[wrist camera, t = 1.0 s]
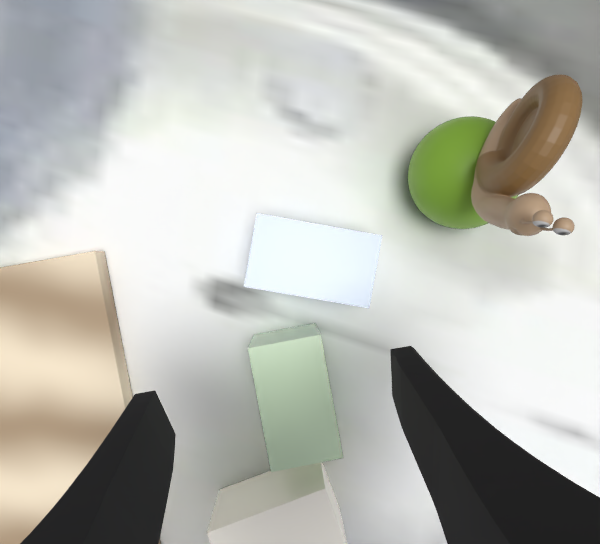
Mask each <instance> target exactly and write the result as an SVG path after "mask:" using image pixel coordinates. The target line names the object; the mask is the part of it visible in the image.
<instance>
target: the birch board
mask: <svg viewBox="0 0 600 544" xmlns="http://www.w3.org/2000/svg"><path fill="white" fill-rule="evenodd" d="M132 398H133V397H132V392H131V387H130V382H129V376H128V371H127V366H126V361H125V356H124V350H123V345H122V340H121V335H120V330H119V325H118V319H117V314H116V309H115V304H114V299H113V293H112V288H111V283H110V278H109V273H108V268H107V262H106V257H105V252H103V251H92V252H87V253H81V254H75V255H69V256H64V257H58V258H52V259H47V260H41V261H35V262H30V263H24V264H18V265H13V266H7V267H1V268H0V544H20V543H21V542H22V541H23V540H24V539H25V538H26V537H27V536H28V535H29V534H30V533H31V532H32V531H33V530H34V528H35V527H36V526H37V525H38V524H39V523H40V522H41V521H42V519H43V518H44V517H45V516H46V515H47V514H48V513H49V511H50V510H51V509H52V508H53V507H54V506H55V504H56V503H57V502H58V501H59V499H60V498H61V497H62V496H63V495H64V493H65V492H66V491H67V490H68V488H69V487H70V486H71V484H72V483H73V482H74V480H75V479H76V478H77V476H78V475H79V474H80V473H81V471H82V470H83V469H84V467H85V466H86V465H87V463H88V462H89V461H90V459H91V458H92V456H93V455H94V453H95V452H96V451H97V449H98V448H99V446H100V445H101V444H102V442H103V441H104V439H105V438H106V436H107V435H108V433H109V432H110V430H111V429H112V428H113V426H114V425H115V423H116V422H117V420H118V419H119V417H120V416H121V414H122V413H123V411H124V410H125V408H126V407H127V405H128V404H129V402H130V401H131V399H132ZM159 544H161V542H160V539H159Z"/></svg>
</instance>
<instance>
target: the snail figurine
mask: <svg viewBox="0 0 600 544" xmlns="http://www.w3.org/2000/svg"><path fill="white" fill-rule="evenodd" d="M581 107H582V92H581V90H580V87H579V85H578V83H577V82H576V81H575V80H573V79H572V78H571V77H569V76H566V75H553V76H549V77H547V78H545V79H543V80H541V81H540V82H538V83H537V84H535V85H534V86H533V87H532V88H531V89H530V90H529V91H528V92H527V93H526V94H525V96H524V97H523V98H522V99H521V98H520V99H517V100H515V101H514V102H513V103H512V104H511V105H510V106H509V107H508V108H507V109H506V110H505V111H504V112H503V113H502V115H501V116H500V117H499V119H498V120H497V121H496V122H495V121H492V120H490V119H486V118H482V117H461V118H456V119H452V120H450V121H447V122H445V123H443V124H441V125H439V126H437V127H436V128H434V129H433V130H432V131H430V132H429V133H428V134H427V135H426V136H425V137H424V138H423V139H422V140H421V142H420V143H419V144H418V146H417V147H416V149H415V151H414V153H413V155H412V158H411V161H410V164H409V169H408V185H409V190H410V193H411V196H412V198H413V201H414V202H415V204H416V206H417V207H418V208H419V210H420V211H421V212H422V213H423V214H424V215H425V216H426V217H428V218H429V219H430V220H432V221H434V222H435V223H437V224H440V225H442V226H445V227H449V228H455V229H469V228H475V227H479V226H482V225H485V224H487V223H490V224H492V225H495V226H498V227H500V228H504V229H510V230H511V231H512V232H513V233H515V234H517V235H524V236H531V235H535V234H538V233H539V232H541V231H542V230H545V231H552V230H553V231H554V232H555V233H556V234H559V235H568V234H570V233H572V232H573V230H574V223H573V221H572V220H571V219H569V218H559V219H557V220H556V221H555V222H554V224H553V228H550V229H548V228H546V227H549V226H550V225H551V224H552V222H553V215H552V214H551V208H550V205H549V203H548V201H547V200H546V199H545V198H544V197H543V196H541V195H539V194H535V193H528V194H524V195H521V196H519V197H518V195H519V194H521V193H524V192H525V191H527V190H529V189H530V188H532V187H533V186H534V185H536V184H537V183H538V182H539V181H540V180H541V179H542V178H544V176H545V175H546V174H547V173H548V172H549V171H550V170H551V169H552V168H553V166H554V165H555V164H556V162H557V161H558V160H559V158H560V157H561V155H562V154H563V152H564V151H565V149H566V148H567V146H568V144H569V142H570V140H571V138H572V136H573V134H574V132H575V129H576V127H577V124H578V121H579V117H580V113H581Z"/></svg>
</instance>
